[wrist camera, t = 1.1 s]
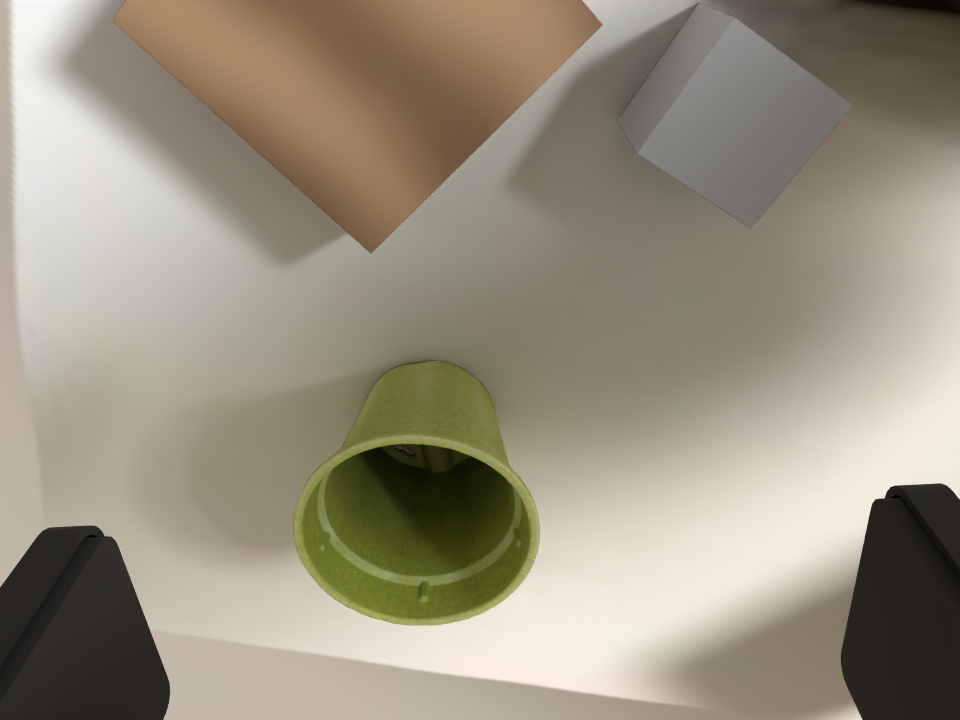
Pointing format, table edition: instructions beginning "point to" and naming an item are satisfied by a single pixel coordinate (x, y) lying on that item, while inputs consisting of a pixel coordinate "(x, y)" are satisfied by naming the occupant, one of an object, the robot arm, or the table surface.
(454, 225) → the table surface
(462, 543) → the plant pot
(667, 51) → the grey cube
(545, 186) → the table surface
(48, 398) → the table surface
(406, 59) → the walnut block
